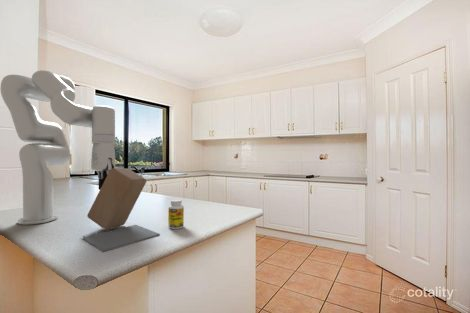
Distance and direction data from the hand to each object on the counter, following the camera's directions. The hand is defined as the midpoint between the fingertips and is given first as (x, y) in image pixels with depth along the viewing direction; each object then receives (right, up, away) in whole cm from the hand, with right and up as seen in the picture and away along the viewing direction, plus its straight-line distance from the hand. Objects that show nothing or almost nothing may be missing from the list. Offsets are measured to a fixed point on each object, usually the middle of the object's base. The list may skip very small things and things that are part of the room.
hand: (104, 189), depth 88 cm
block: (+1, -12, 0) cm, 12 cm away
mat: (+11, -15, -9) cm, 20 cm away
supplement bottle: (+26, -15, +2) cm, 30 cm away
